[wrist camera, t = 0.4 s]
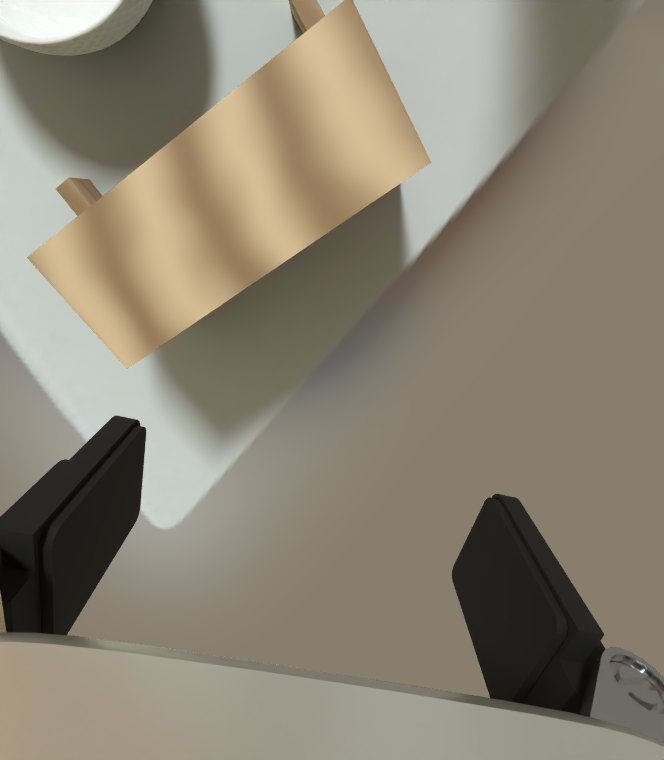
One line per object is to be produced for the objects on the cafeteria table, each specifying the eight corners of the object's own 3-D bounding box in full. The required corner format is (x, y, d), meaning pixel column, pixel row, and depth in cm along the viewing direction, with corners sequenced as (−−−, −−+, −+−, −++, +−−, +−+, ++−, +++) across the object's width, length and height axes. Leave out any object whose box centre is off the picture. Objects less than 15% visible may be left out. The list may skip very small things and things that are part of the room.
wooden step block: (307, -2, 31) (294, -119, 20) (399, 175, 35) (431, 162, 24) (76, 189, 36) (-40, 183, 25) (183, 323, 40) (126, 369, 29)
